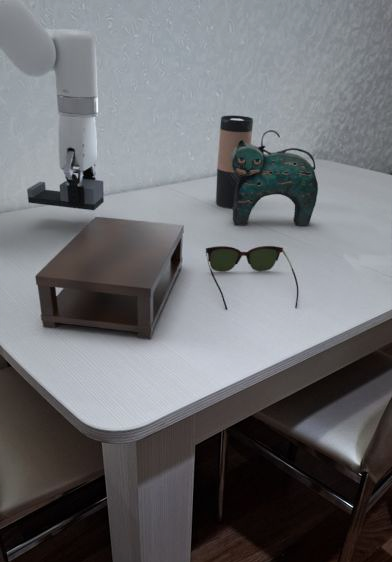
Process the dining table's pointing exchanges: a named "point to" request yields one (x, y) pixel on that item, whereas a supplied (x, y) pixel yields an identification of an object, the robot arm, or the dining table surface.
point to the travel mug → (230, 155)
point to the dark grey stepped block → (60, 198)
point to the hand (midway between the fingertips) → (82, 199)
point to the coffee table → (112, 275)
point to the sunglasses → (256, 257)
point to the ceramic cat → (273, 180)
